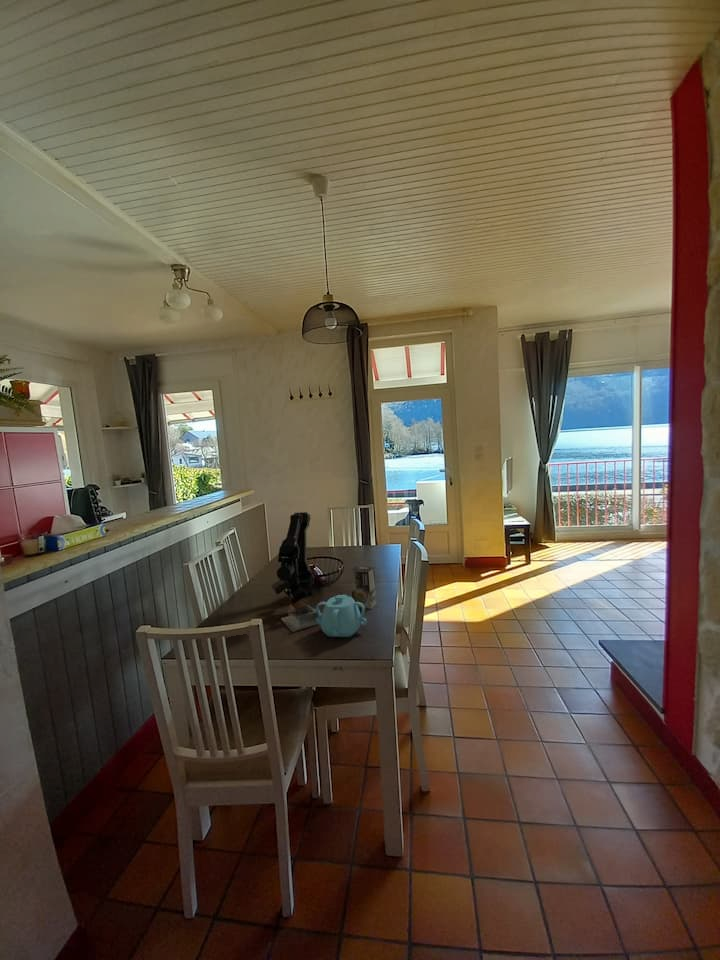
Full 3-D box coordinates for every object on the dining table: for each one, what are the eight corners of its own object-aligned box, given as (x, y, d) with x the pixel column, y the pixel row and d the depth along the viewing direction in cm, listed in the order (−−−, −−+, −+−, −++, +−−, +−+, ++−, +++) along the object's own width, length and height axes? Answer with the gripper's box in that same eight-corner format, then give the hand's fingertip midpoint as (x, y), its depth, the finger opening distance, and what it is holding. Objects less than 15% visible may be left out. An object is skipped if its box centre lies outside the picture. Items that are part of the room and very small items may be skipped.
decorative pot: (371, 633, 142) (369, 597, 141) (331, 646, 134) (328, 608, 133) (351, 618, 156) (349, 585, 155) (314, 628, 149) (311, 594, 148)
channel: (315, 610, 166) (314, 599, 165) (328, 621, 155) (327, 608, 154) (281, 620, 158) (280, 608, 158) (292, 632, 147) (291, 619, 147)
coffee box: (377, 603, 169) (374, 567, 167) (371, 609, 163) (368, 572, 162) (358, 601, 173) (355, 565, 171) (352, 606, 167) (349, 570, 165)
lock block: (301, 610, 166) (300, 600, 166) (308, 616, 160) (307, 605, 160) (290, 614, 163) (289, 603, 163) (297, 619, 158) (296, 609, 157)
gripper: (266, 571, 169) (269, 605, 170) (279, 582, 153) (283, 620, 154) (290, 565, 174) (293, 599, 176) (306, 576, 158) (309, 613, 159)
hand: (294, 607), depth 166 cm, fingers closed
